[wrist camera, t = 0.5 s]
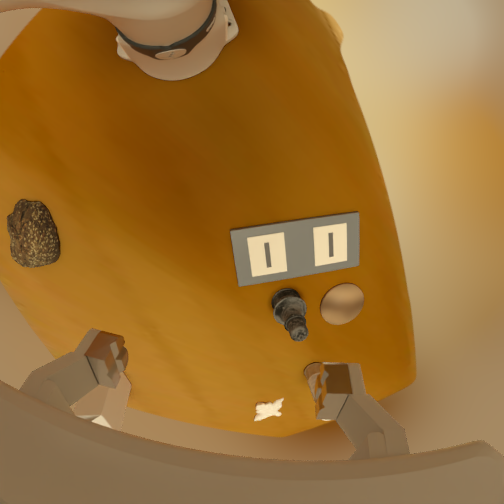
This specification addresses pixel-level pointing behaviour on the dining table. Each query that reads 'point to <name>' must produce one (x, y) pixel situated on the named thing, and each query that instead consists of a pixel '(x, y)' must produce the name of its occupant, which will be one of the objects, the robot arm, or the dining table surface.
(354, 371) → the robot arm
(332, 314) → the coaster
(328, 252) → the label board
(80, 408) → the milk carton
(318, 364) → the sprinkles bottle
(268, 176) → the dining table surface
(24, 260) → the bread roll
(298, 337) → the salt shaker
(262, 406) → the acanthus leaf ornament
